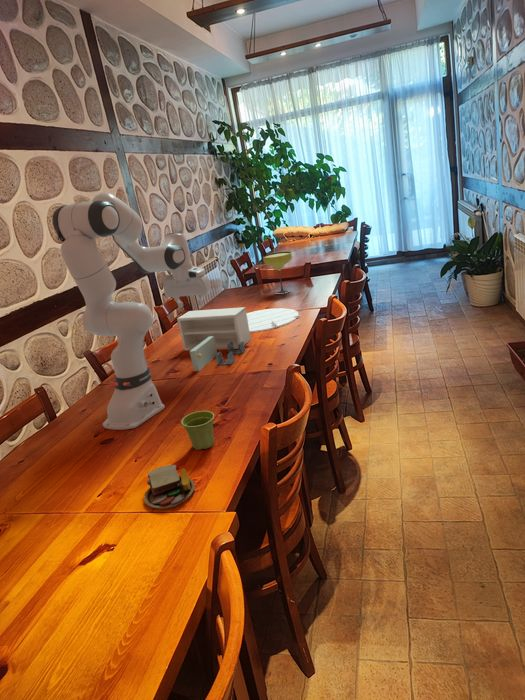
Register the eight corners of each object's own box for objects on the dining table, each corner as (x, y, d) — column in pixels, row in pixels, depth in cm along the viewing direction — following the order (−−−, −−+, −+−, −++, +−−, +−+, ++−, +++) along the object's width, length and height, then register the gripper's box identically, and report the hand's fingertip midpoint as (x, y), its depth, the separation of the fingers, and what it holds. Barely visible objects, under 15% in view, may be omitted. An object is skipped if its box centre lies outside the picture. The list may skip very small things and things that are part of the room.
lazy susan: (312, 319, 239) (311, 312, 238) (241, 339, 227) (239, 332, 226) (280, 306, 275) (279, 300, 274) (217, 322, 263) (216, 317, 262)
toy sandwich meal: (145, 518, 109) (140, 501, 108) (145, 485, 122) (141, 470, 120) (197, 503, 111) (193, 486, 110) (193, 472, 124) (189, 457, 122)
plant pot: (204, 433, 143) (198, 408, 140) (226, 440, 137) (220, 413, 134) (181, 449, 136) (174, 422, 133) (203, 456, 130) (197, 429, 127)
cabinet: (241, 348, 213) (235, 314, 207) (184, 350, 224) (177, 318, 219) (250, 339, 223) (245, 307, 218) (196, 341, 234) (189, 311, 229)
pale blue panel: (201, 371, 194) (196, 351, 191) (194, 371, 195) (189, 351, 192) (219, 355, 210) (215, 336, 207) (212, 355, 211) (208, 336, 208)
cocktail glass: (283, 288, 318) (278, 251, 310) (302, 290, 304) (296, 251, 296) (263, 295, 308) (257, 257, 300) (281, 297, 294) (275, 257, 286)
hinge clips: (230, 364, 195) (228, 355, 194) (217, 365, 197) (215, 355, 196) (245, 350, 209) (243, 341, 208) (232, 351, 211) (230, 342, 210)
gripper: (157, 277, 190) (165, 309, 195) (201, 272, 183) (208, 306, 187) (165, 273, 196) (173, 305, 201) (208, 268, 188) (215, 301, 193)
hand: (190, 305), depth 194 cm, fingers open, 8 cm apart
